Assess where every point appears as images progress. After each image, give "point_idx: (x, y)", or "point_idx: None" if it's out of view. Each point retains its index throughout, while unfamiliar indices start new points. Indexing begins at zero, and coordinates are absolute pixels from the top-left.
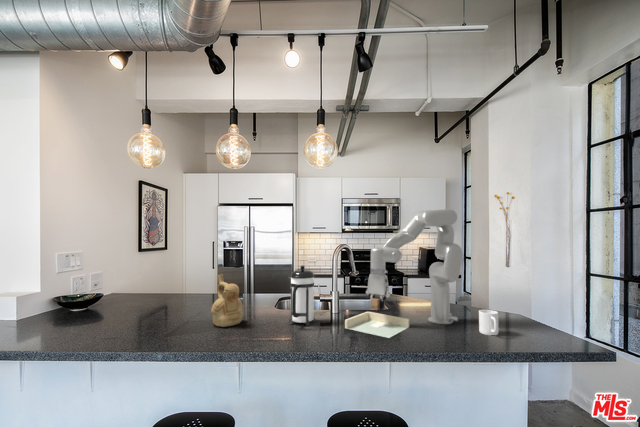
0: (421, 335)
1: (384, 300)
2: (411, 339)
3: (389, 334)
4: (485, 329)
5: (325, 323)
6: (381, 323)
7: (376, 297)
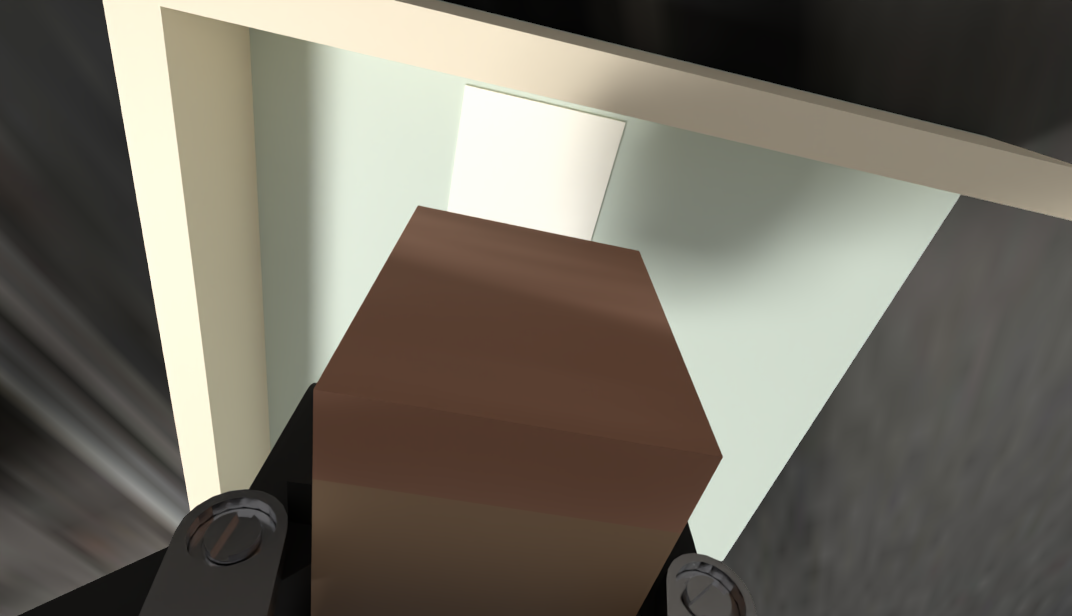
0: (1068, 369)
1: (718, 599)
2: (922, 499)
3: (718, 495)
4: None
5: None
6: (545, 157)
7: (344, 550)
